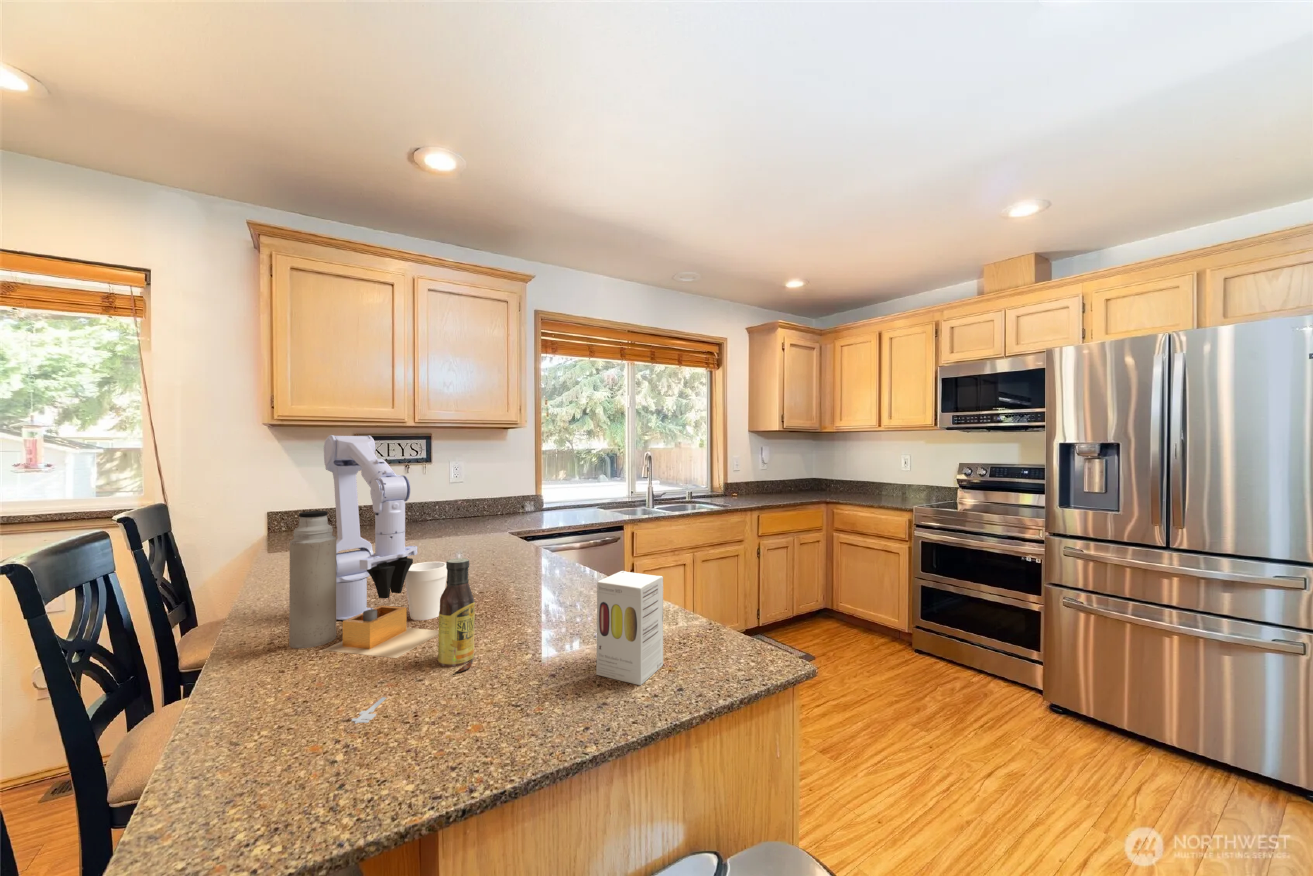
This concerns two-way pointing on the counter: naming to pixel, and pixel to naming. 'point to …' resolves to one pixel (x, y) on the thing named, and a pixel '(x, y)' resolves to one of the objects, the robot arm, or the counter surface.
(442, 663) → the sauce bottle
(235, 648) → the counter surface
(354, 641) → the orange wooden hollow box
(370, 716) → the key
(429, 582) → the foam cup
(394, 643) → the board
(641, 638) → the supplement box
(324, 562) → the thermos bottle
